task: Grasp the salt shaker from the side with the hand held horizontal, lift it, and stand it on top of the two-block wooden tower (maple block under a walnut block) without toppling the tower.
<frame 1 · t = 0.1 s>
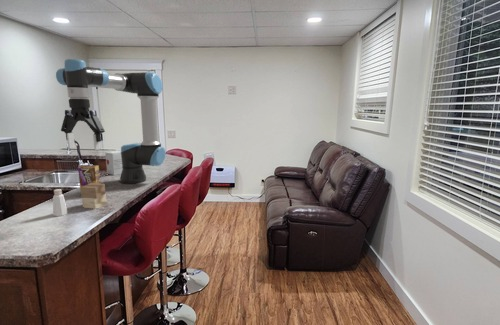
hand: (84, 148, 125), 28 cm above the counter, tool pointing down, fingers open, 13 cm apart
tower top: (94, 195, 134), point 5 cm above the counter, touching tower bottom
salt shaker: (60, 214, 125), on the counter
supplement box: (116, 173, 198), on the counter
tower bottom: (94, 205, 135), on the counter, touching tower top
candy box: (91, 194, 152), on the counter
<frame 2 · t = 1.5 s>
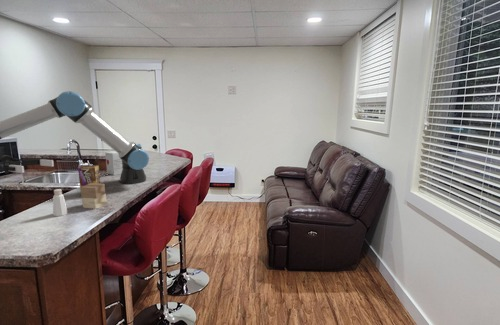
hand: (38, 166, 123), 21 cm above the counter, tool horizontal, fingers open, 13 cm apart
nothing on the counter moved.
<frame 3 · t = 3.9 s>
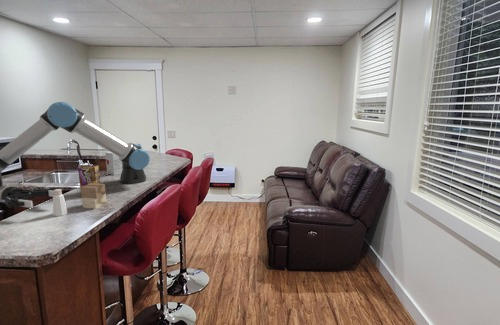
hand: (47, 199, 124), 6 cm above the counter, tool horizontal, fingers open, 13 cm apart
tower top: (94, 195, 134), point 5 cm above the counter
tower bottom: (95, 205, 135), on the counter
everything else where it was.
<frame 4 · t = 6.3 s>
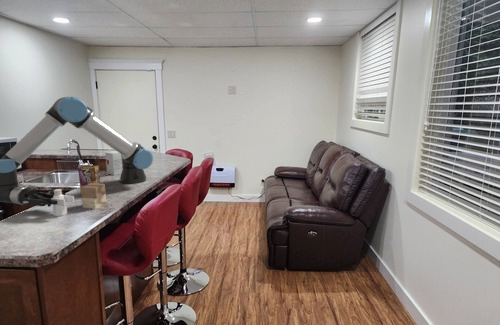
hand: (69, 200, 122), 7 cm above the counter, tool horizontal, fingers closed on salt shaker, 4 cm apart
tower top: (94, 195, 134), point 5 cm above the counter, touching tower bottom
salt shaker: (60, 214, 124), on the counter, touching gripper
tower bottom: (94, 206, 135), on the counter, touching tower top
everything else where it was.
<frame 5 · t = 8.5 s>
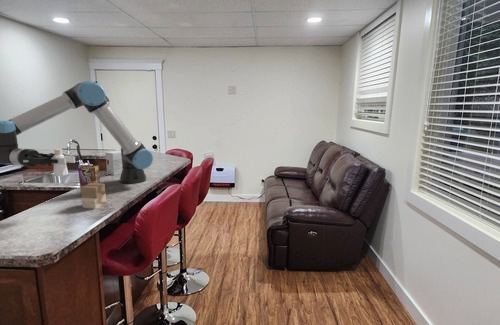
hand: (69, 160, 120), 24 cm above the counter, tool horizontal, fingers closed on salt shaker, 4 cm apart
salt shaker: (61, 175, 123), point 17 cm above the counter, touching gripper
everything else where it was.
when the fingers open (17 cm above the counter, at t = 10.9 s): salt shaker drops 1 cm, resting on tower top.
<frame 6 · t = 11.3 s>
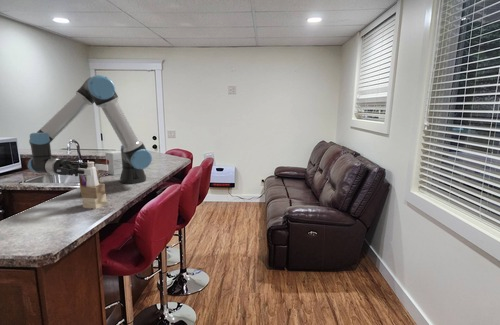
hand: (99, 170, 131), 17 cm above the counter, tool horizontal, fingers open, 9 cm apart
tower top: (94, 195, 134), point 5 cm above the counter, touching salt shaker, tower bottom
salt shaker: (92, 185, 133), point 10 cm above the counter, touching tower top
everything else where it was.
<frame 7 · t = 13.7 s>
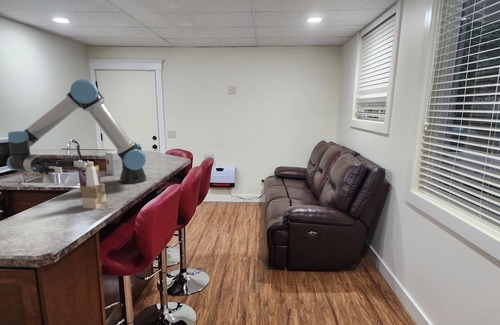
hand: (74, 167, 134), 18 cm above the counter, tool horizontal, fingers open, 13 cm apart
nothing on the counter moved.
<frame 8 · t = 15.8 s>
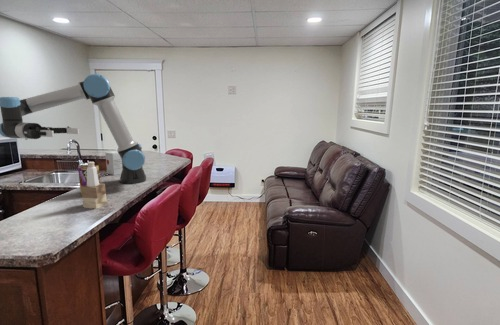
hand: (66, 132, 131), 34 cm above the counter, tool horizontal, fingers open, 13 cm apart
nothing on the counter moved.
at the end: salt shaker inside the target area on the tower top (0.1 cm from its centre), point 4.8 cm above the tower top's base; salt shaker tilted 0°; tower top tilted 0° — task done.
